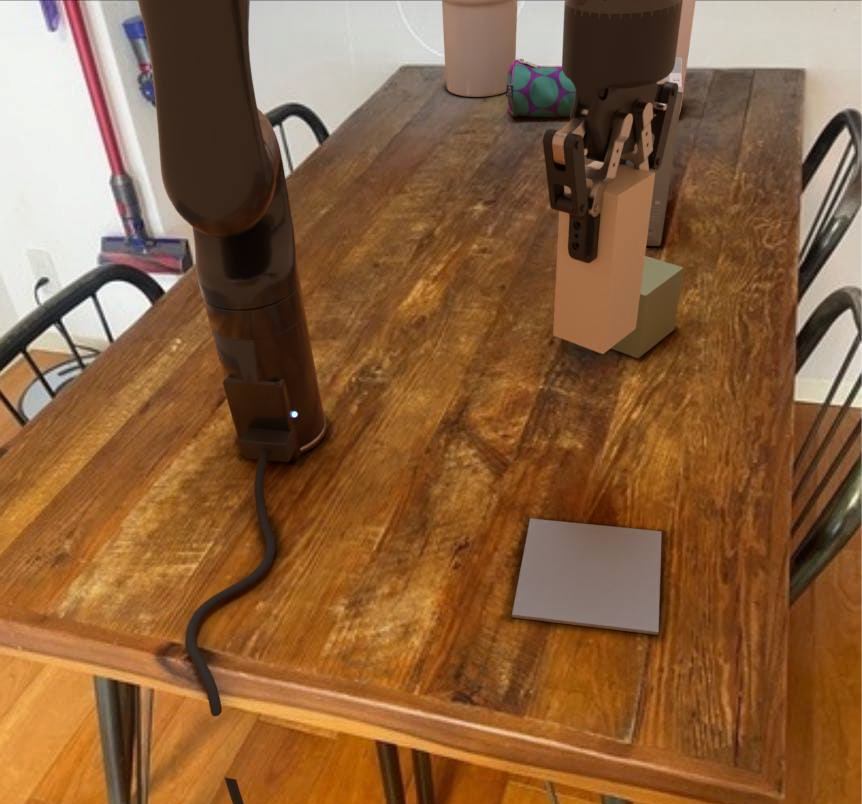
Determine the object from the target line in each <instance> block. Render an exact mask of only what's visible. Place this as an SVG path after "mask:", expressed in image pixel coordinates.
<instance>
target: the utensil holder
mask: <svg viewBox="0 0 862 804" xmlns="http://www.w3.org/2000/svg"><path fill="white" fill-rule="evenodd" d="M441 9H442V10H441V11H442V32H443V46H444V47H443V52H444V53H443V54H444V71H445V84H446V89H447V91H448V92H450V93H451V94H453V95H457V96H461V97H469V98H483V97H484V98H485V97H494V96H497V95H501V94H504V93H506V89H507V78H508V72H509V69H510V66H511V64H512V63H513V62H515V60H517V58H516V57H517V56H516V55H517V54H516V53H517V26H518V24H517V23H518V0H441Z"/></svg>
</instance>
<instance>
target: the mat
mask: <svg viewBox="0 0 862 804" xmlns="http://www.w3.org/2000/svg"><path fill="white" fill-rule="evenodd" d="M662 538H663V537H662V531H661V530H652V529H643V528H633V527H632V528H631V527H622V526H611V525H601V524H591V523H581V522H570V521H561V520H560V521H559V520H551V519H540V518H532V517H531V518H529V522H528V528H527V533H526V539H525V543H524V548H523V555H522V560H521V563H520V564H521V565H520V570H519V576H518V581H517V586H516V591H515V596H514V601H513V607H512V613H511V618H515V619H522V620H531V621H539V622H548V623H555V624H565V625H572V626H581V627H588V628H589V627H590V628H597V629H605V630H612V631H621V632H629V633H638V634H646V635H647V634H648V635H655V636H659V632H660V630H659V629H660V598H661V596H660V595H661V591H660V590H661V568H662V567H661V565H662Z"/></svg>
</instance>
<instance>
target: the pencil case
mask: <svg viewBox="0 0 862 804" xmlns="http://www.w3.org/2000/svg"><path fill="white" fill-rule="evenodd" d="M575 93H576V89H575V86H574V85H573V83H572V82H571V80H570V79H569V78H567V77H566V76H565V74H564V72H563V70H562V66H541V65H537V64H535V63H532V62H531V61H527V60H525V59H524V58H521V57H519V58H516V59H515V62H513V63H512V64H511V66H510V69H509V72H508V78H507V89H506V92H505V98H507V104H508V106H507V107H508V110H509V113H510V115H511V116H512V117H516V118H517V117H524V118H525V117H526V118H570V114H571V110H572V107H573V103H574V99H575Z"/></svg>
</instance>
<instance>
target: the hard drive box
mask: <svg viewBox="0 0 862 804" xmlns="http://www.w3.org/2000/svg"><path fill="white" fill-rule="evenodd" d="M663 80H664V81H668V82H673V83H677V84H678V94H677V98H676V102H675V107H674V111H673V116H672V120H671V124H670V129H669V133H668V138H667V142H666V146H665V151H664V155H663V159H662V163H661V166H660V167H659V169H658V170H653V169H651V170H650V171H651V172H655V180H654V188H653V195H652V203H651V211H650V219H649V227H648V235H647V243H646V247H648V246H651V247H660V246H661V244H662V239H663V232H664V226H665V218H666V212H667V205H668V199H669V191H670V183H671V177H672V176H671V175H672V170H673V169H672V168H673V162H674V155H675V148H676V141H677V133H678V127H679V120H680V115H679V114H681V111H680V107H681V108H682V106H681V100H682V101H683V99H682V94H683V95H684V91H683V82H682V58H681V57H676V59H675V66H674V68H673V70H672V72H671V73H670V74H669V75H668V76H667V77H666V78H664V79H663ZM655 116H656V114H655ZM653 142H654V134H652V144H653ZM626 161H627V160H626Z"/></svg>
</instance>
